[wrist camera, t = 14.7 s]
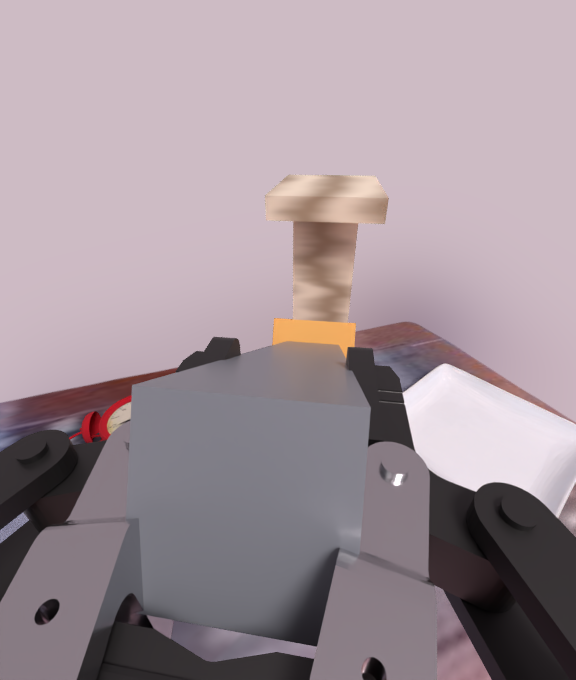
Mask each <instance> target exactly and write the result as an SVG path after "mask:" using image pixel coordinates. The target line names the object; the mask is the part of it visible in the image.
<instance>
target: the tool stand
mask: <svg viewBox="0 0 576 680" xmlns="http://www.w3.org/2000/svg"><path fill="white" fill-rule="evenodd" d="M388 199H389V198H388V196H387V195H386V193H385V191H384V190H383V188H382V186H381V185H380V183H379V181H378V180H377V178H376V176H340V175H288V176H287V177H286V178H284V179H283V180H282V181H281V182H280V183H279V184H278V185H277V186H275V187H274V188H273V189H272V190H271V191H270V192H269V193H267V194H266V195H265V202H266V203H265V205H266V220H271V221H293V222H294V224H293V228H294V229H293V231H294V233H293V319H295V320H311V321H327V322H342V323H348V314H349V305H350V296H351V286H352V277H353V267H354V257H355V248H356V239H357V229H358V223H371V224H372V223H374V224H385V219H386V212H387V206H388Z"/></svg>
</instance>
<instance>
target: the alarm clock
mask: <svg viewBox="0 0 576 680" xmlns="http://www.w3.org/2000/svg"><path fill="white" fill-rule="evenodd" d="M131 399H132V395H131V396H128V397H126V398H123V399H121V400H120V401H118V402H116V403H115V404H113V405H112V406H111V407H110V408H109V409H108V410H107V411H106V412H105V413H104V414H103V416H102V418H101V417H100V415H99V413H98V412H91V413H89V414H87V415H86V416H85V418H84V420H83V422H82V428H80V430H81V432H79V433H77V434H75V435H73V436H71V437H70V438H69V439H72V438H74V437H75V436H77V435H79V434H81V433H82V436H83V438H84V440H85V442H86V443H90V442H93V437H101V438H102V439H101V440H100V441H103V440H107V439H108V438H109V436H110V435H111V434H112V432H113V431H115V430H116V429H117V428H118V427H119V426H121V425H122V424H124V423H126V422H128V421H130V420H131ZM97 433H99V434H100V435H96V434H97Z"/></svg>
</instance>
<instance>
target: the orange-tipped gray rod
mask: <svg viewBox="0 0 576 680" xmlns="http://www.w3.org/2000/svg"><path fill="white" fill-rule="evenodd" d="M355 328H356V324H355V323H342V322H327V321H311V320H295V319H279V318H274V328H273V344H272V346H268V347H265V348H262V349H258V350H255V351H251V352H247V353H244V354H241V355H240V356H237V357H233V358H230V359H226V360H219V361H216V362H212V363H209V364H205V365H202V366H198V367H195V368H191V369H188V370H184V371H181V372H177V373H174V374H170V375H167V376H163V377H160V378H156V379H153V380H149V381H146V382H142V383H139V384H135V385H132V399H131V420H130V442H129V463H128V484H127V506H126V519H133V518H139V530H140V548H141V566H142V585H143V603H144V611H142V612H138V613H137V614H143V615H148V616H154V617H159V618H165V619H170V620H176V621H181V622H186V623H192V624H197V625H203V626H208V627H214V628H219V629H225V630H230V631H235V632H241V633H246V634H252V635H257V636H263V637H268V638H274V639H279V640H284V641H290V642H295V643H301V644H306V645H312V646H317V645H318V640H319V636H320V632H321V627H322V623H323V618H324V614H325V610H326V605H327V601H328V596H329V592H330V588H331V583H332V579H333V574H334V570H335V566H336V561H337V557H338V553H339V550H340V548H342V549H345V550H348V551H351V552H353V553H356V554H360V541H361V528H362V516H363V503H364V490H365V477H366V464H367V451H368V438H369V425H370V412H371V407H370V405H369V403H368V401H367V399H366V397H365V395H364V393H363V391H362V389H361V387H360V385H359V383H358V381H357V379H356V377H355V375H354V373H353V372H352V371H351V370H348V368H347V365H346V357H347V349H348V347H354V341H355Z"/></svg>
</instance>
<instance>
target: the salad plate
mask: <svg viewBox="0 0 576 680" xmlns="http://www.w3.org/2000/svg"><path fill="white" fill-rule="evenodd" d="M402 394H403V398H404V405H405V407H406V412H407V416H408V421H409V426H410V430H411V435H412V439H413V444H414V448H415V451H416V453H417V454H418V455H419V456H420V457H421V458H422V459H423V460H424V462H425V463H426V465H427V467H428V469H429V470H431V471H432V472H433V473H435V474H436V475H438V476H439V477H441V478H443V479H445V480H447V481H450V482H452V483H455V484H457V485H460V486H463V487H465V488H468V489H470V490H473V491H475V492H477V490H478V489H479V488H480V487H481V486H483V485H485V484H487V483H492V482H501V483H507V484H511V485H514V486H517V487H519V488H521V489H523V490H525V491H527V492H529V493H530V494H532V495H533V496H535V497H536V498H538V499H539V500H540V501H541V502H542V503H543V504H544V505H545V506H547V507H548V508H549V510H550V511H551V512H552V513H553V514H554V515H555V516H556V517H557V518H558V517H559V515H560V513H561V511H562V509H563V507H564V505H565V502H566V500H567V498H568V496H569V494H570V492H571V491H572V489H573V487H574V485H575V483H576V424H574V423H572V422H570V421H568V420H566V419H564V418H561V417H559V416H557V415H555V414H553V413H551V412H549V411H547V410H544V409H542V408H540V407H538V406H536V405H534V404H532V403H530V402H528V401H526V400H523V399H521V398H519V397H517V396H515V395H513V394H511V393H508V392H506V391H504V390H502V389H500V388H498V387H496V386H494V385H492V384H490V383H487V382H485V381H483V380H481V379H479V378H477V377H475V376H473V375H471V374H469V373H467V372H465V371H462V370H460V369H458V368H456V367H454V366H451V365H449V364H442V365H440V366H438V367H437V368H435V369H434V370H432V371H431V372H430V373H428V374H427V375H426V376H424V377H423V378H422V379H420V380H419V381H418V382H417V383H415V384H414V385H413V386H411V387H410V388H409V389H407V390H406V391H405V392H403V393H402Z"/></svg>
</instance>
